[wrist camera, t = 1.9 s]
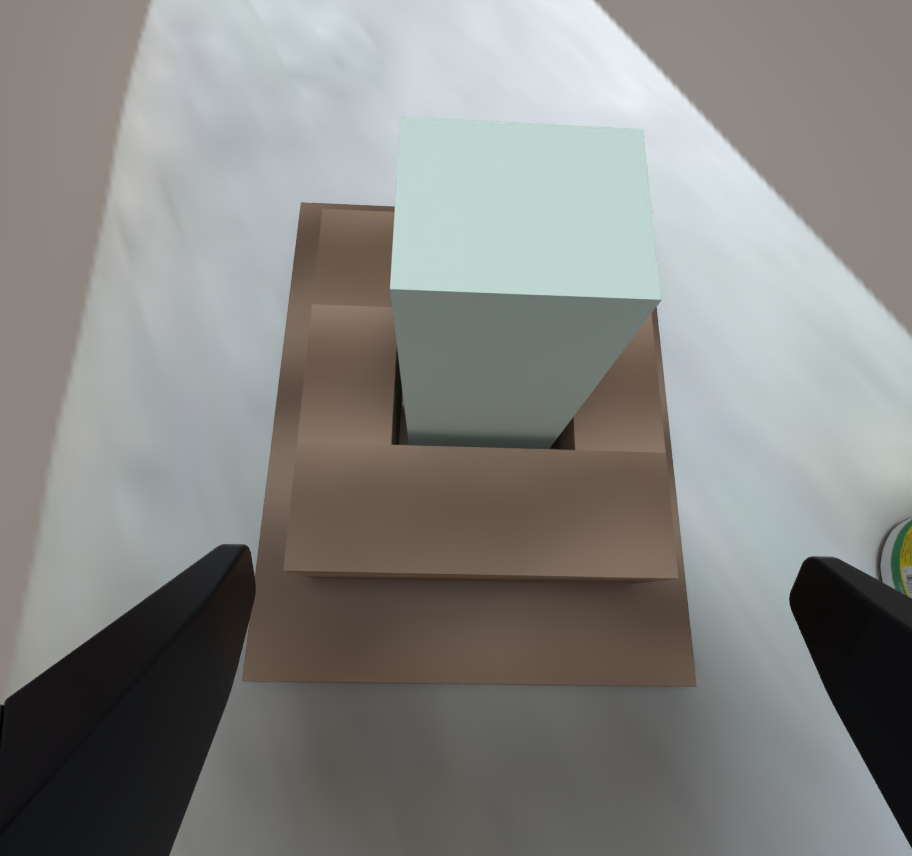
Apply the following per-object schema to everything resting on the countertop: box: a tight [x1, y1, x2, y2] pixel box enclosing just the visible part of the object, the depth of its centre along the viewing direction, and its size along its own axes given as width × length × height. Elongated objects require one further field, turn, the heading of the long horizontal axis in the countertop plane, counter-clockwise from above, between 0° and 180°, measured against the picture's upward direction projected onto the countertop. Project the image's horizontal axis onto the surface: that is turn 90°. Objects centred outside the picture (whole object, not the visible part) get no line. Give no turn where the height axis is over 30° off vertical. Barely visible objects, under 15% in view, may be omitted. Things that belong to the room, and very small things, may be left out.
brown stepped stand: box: [242, 202, 696, 687], centre depth 21 cm, size 20×16×5 cm
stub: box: [390, 117, 662, 449], centre depth 17 cm, size 4×5×12 cm
